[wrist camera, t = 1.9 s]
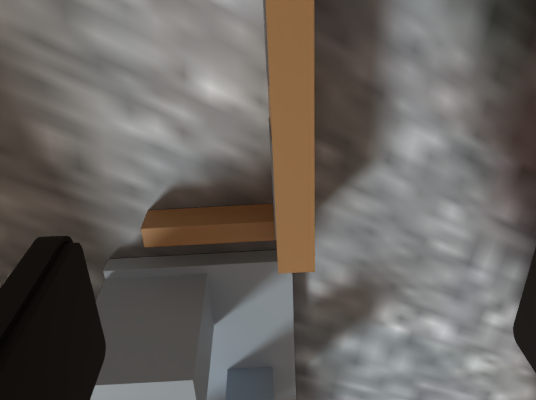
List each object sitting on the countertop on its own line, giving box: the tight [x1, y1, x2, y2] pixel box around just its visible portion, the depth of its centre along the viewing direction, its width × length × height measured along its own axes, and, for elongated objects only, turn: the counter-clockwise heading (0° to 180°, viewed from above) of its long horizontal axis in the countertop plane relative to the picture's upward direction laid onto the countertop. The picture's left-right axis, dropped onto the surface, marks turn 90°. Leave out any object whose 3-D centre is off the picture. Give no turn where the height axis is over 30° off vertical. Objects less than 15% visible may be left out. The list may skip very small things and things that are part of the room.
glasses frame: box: [141, 0, 315, 274], centre depth 22 cm, size 9×16×5 cm, turn 3°
